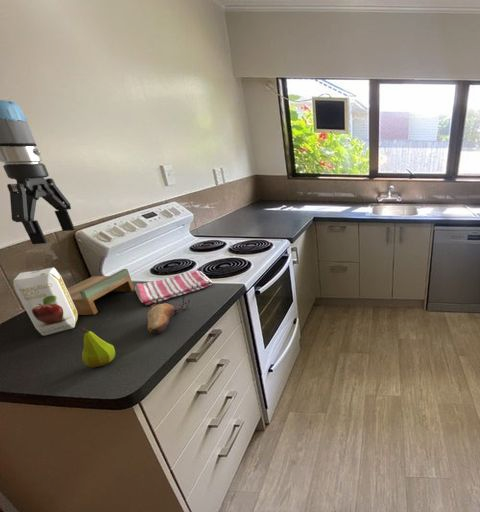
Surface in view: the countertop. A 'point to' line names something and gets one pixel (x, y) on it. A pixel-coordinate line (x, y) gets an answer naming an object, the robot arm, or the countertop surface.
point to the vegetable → (161, 316)
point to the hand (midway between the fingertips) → (55, 236)
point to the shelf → (98, 290)
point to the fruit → (96, 350)
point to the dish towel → (171, 287)
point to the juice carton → (46, 300)
